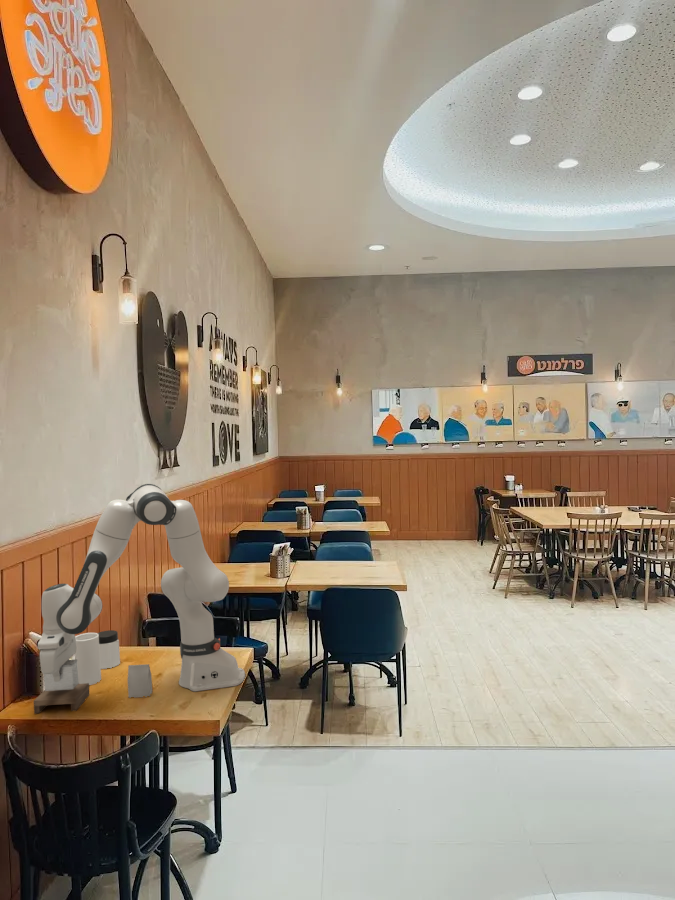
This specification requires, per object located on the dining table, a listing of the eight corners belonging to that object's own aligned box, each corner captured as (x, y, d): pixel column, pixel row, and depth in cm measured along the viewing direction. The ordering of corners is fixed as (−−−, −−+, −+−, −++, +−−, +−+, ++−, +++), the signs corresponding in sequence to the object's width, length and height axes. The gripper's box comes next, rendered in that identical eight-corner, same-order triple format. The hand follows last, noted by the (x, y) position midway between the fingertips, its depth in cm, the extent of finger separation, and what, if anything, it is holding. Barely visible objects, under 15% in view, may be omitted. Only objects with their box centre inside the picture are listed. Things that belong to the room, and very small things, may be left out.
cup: (92, 686, 221) (89, 640, 220) (71, 685, 223) (68, 640, 222) (105, 677, 229) (103, 632, 228) (85, 676, 231) (82, 632, 230)
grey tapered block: (149, 696, 210) (147, 666, 209) (128, 697, 210) (126, 667, 209) (152, 692, 214) (150, 662, 213) (132, 693, 213) (130, 663, 213)
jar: (94, 664, 242) (92, 633, 242) (116, 659, 247) (114, 628, 246) (99, 671, 235) (97, 639, 234) (122, 666, 239) (120, 634, 239)
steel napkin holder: (78, 683, 210) (77, 659, 209) (73, 689, 205) (71, 664, 205) (50, 685, 209) (48, 661, 209) (44, 691, 204) (42, 666, 204)
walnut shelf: (89, 695, 213) (88, 683, 213) (76, 710, 201) (75, 698, 201) (49, 697, 213) (49, 685, 213) (34, 713, 201) (33, 701, 201)
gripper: (61, 625, 217) (63, 665, 217) (35, 646, 196) (38, 690, 197) (80, 624, 217) (82, 664, 217) (55, 644, 196) (58, 689, 197)
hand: (61, 677), depth 207 cm, fingers closed on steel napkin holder, 4 cm apart
